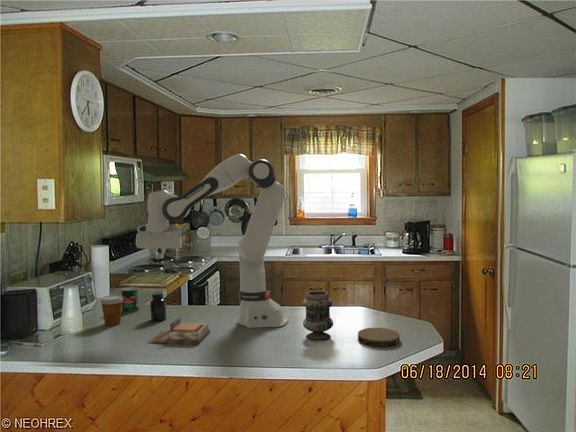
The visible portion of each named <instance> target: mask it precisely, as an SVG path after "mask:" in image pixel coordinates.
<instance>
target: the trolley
mask: <svg viewBox="0 0 576 432" xmlns="http://www.w3.org/2000/svg"><path fill="white" fill-rule="evenodd" d="M169 324H170V325H169V326H170V329H169V330H170V332H190V333H197V332H198V331H199V330H200V329H201V328H202V324H203V323H201V324H194V323H193V322H187V323H186V322H182V321H181V317H177V319H175V320H173V321H172V322H171V323H169Z"/></svg>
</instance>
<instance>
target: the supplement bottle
mask: <svg viewBox="0 0 576 432" xmlns="http://www.w3.org/2000/svg"><path fill="white" fill-rule="evenodd" d="M151 296H152V297H151V298H152V299H151V300H150V303H149V304H150V306H149V307H150V320H151V321H152V322H162V321H165V320H167V306H166V305H167V302H166V299H165V298H164V293H163V292H154V293H152V294H151Z"/></svg>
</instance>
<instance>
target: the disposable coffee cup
mask: <svg viewBox="0 0 576 432" xmlns="http://www.w3.org/2000/svg"><path fill="white" fill-rule="evenodd" d="M122 301H123V298H122V294H121V295H118V294H111V295H105V296H102V297H101V298H100V304H101V307H102V314H103V319H104V324H105V326H107V327H113V326H118V325H120V324H121V317H122Z"/></svg>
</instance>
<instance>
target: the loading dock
mask: <svg viewBox="0 0 576 432" xmlns="http://www.w3.org/2000/svg"><path fill="white" fill-rule="evenodd" d="M194 324H202V328H201V329H200V330H199V331H198V332H197V333H190V332H170V329H168V330H167V329H166V330H161V331H159V333H158V334H156V335H155V336H153V337H152V338H151V339H149V340H148V342H146V344H165V343H166V344H168V345H169V344H171V345H197V346H199V345H200V344H201V343H202V342H203V341H204V340H205V339H206V338H207V337H208V335H209V334H210V333H211V329H210V328H209V323H201V322H200V323H194Z"/></svg>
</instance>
